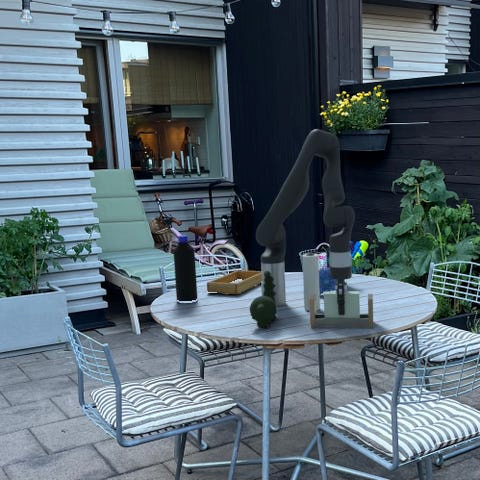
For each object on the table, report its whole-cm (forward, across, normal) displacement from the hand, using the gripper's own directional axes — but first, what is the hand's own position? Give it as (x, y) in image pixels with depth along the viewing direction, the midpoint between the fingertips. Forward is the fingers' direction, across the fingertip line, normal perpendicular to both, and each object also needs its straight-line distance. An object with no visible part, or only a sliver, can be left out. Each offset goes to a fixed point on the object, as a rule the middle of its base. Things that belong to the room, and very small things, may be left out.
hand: (341, 312), depth 215 cm
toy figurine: (+4, +2, +27) cm, 27 cm away
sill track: (+4, 0, 0) cm, 4 cm away
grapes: (+4, +46, +8) cm, 47 cm away
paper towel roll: (+4, +22, +12) cm, 25 cm away
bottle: (+4, +35, +66) cm, 75 cm away
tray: (+5, +62, +50) cm, 79 cm away
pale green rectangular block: (+2, 0, 0) cm, 2 cm away
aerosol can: (+4, +65, +5) cm, 65 cm away
